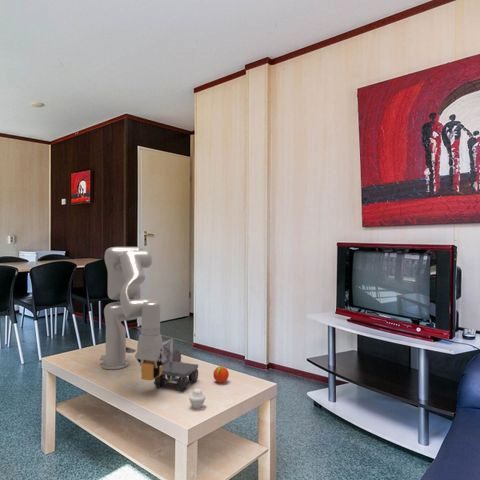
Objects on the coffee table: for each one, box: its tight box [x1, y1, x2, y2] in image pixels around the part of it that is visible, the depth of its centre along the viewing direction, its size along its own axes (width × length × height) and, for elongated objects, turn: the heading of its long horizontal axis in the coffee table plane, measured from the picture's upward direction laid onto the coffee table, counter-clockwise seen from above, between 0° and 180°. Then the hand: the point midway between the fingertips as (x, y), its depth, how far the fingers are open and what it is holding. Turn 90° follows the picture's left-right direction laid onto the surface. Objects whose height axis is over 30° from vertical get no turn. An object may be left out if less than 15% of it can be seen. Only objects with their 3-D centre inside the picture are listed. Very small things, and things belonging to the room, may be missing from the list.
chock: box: [140, 361, 162, 382], centre depth 160 cm, size 5×8×6 cm, turn 161°
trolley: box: [153, 338, 199, 392], centre depth 169 cm, size 14×16×18 cm
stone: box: [160, 343, 182, 366], centre depth 195 cm, size 10×6×15 cm
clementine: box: [213, 366, 230, 383], centre depth 172 cm, size 8×7×7 cm
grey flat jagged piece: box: [126, 346, 137, 353], centre depth 220 cm, size 21×7×2 cm, turn 52°
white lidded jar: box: [188, 388, 206, 410], centre depth 147 cm, size 6×6×7 cm
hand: (150, 375), depth 158 cm, fingers closed on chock, 5 cm apart
